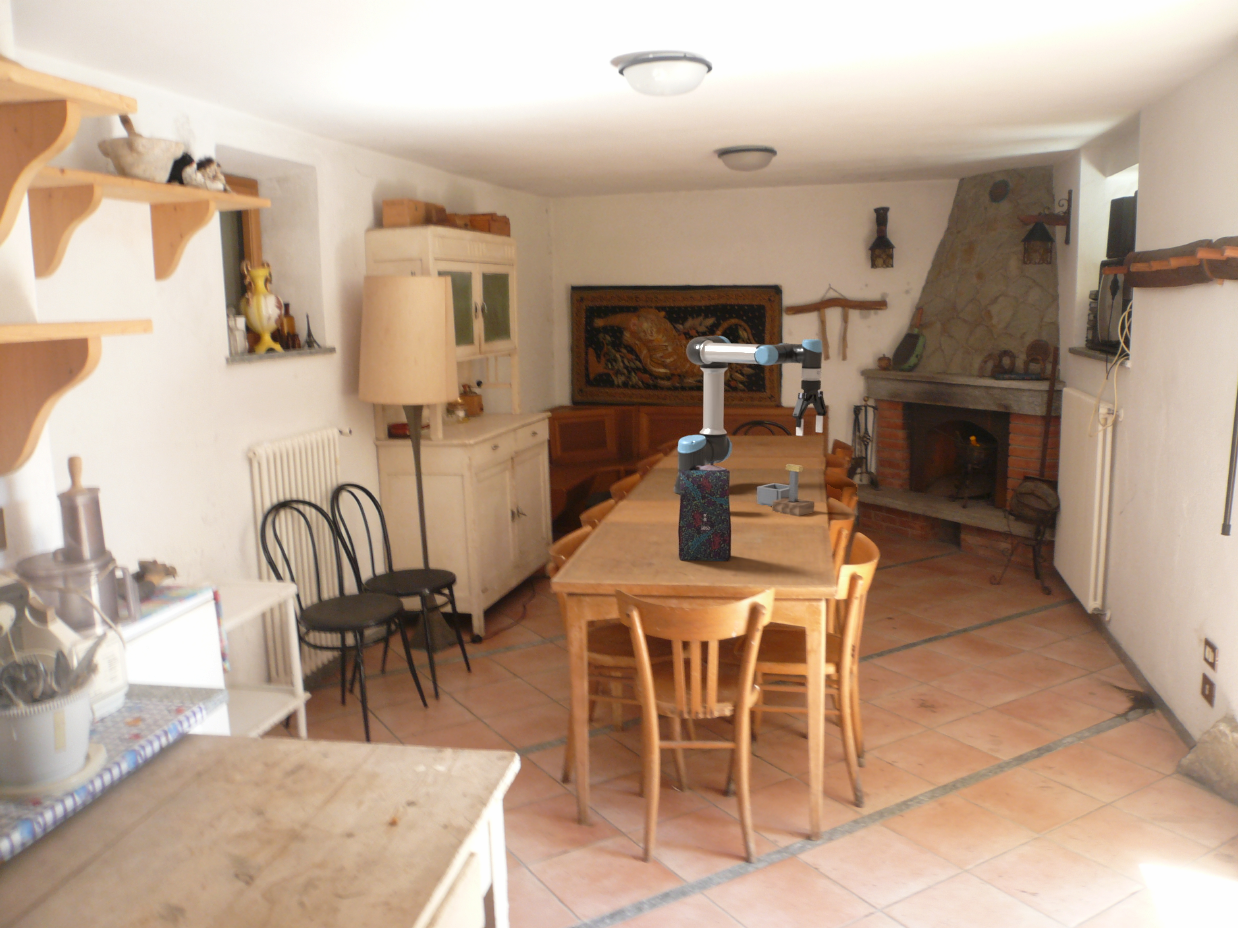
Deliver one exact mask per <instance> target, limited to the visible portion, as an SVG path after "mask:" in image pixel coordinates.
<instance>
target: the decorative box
mask: <svg viewBox="0 0 1238 928" xmlns="http://www.w3.org/2000/svg"><path fill="white" fill-rule="evenodd" d="M679 501H680V502H679V514H678V529H677V530H678V531H677V533H678V534H677V535H678V558H679V560H680V561H694V562H696V561H697V562H699V561H700V562H706V561H707V562H708V561H709V562H729V561H730V559H731V557H732V521H731V519H732V517H731V508H730V470H729V469H727V470H681V472H680V494H679Z"/></svg>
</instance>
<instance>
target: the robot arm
mask: <svg viewBox="0 0 1238 928" xmlns="http://www.w3.org/2000/svg"><path fill="white" fill-rule="evenodd" d="M685 350H686V351H685V352H686V353H685V354H686V356H687V359H688V360H689V361H690V362H691V363H692V364H694V365H698V366H699V368H700V370H701V371H702V372H703V406H702V407H703V412H702V413H703V417H702V418H703V420H702V421H703V422H702V423H703V425H702V429H701V430H700V431H699V434H692V435H686V436H683V437H681V438H680V439H679V440H678V444H677V445H678V446H677V476H676V480H675V483H674V486H673V492H674V493H675V494H677V495H678V494H679V495H680V472H681V470H689V469H690V468H691V467H692V466H693V465H696V466H706V465H710V461H714V464H720V463H722V462H725V461H726V460H727V459H728V458H730V456H731V454H732V451H733V443H732V441H731V440H730V436H728V432H727V431H726V429H725V428H724V410H725V409H724V404H725V403H724V402H725V401H724V400H725V399H724V398H725V396H724V395H725V392H724V391H725V389H724V388H725V372H726V371H727V370H728V369H729V367H728V365H729V364H730V363H733V364H734V363H735V364H751V365H752V364H753V365H754V364H755V365H762V366H772V365H781V364H782V365H783V364H801V377H800V378H801V379H802V380H801V382H800V389H801V390H803V392H798V394H797V400H796V403H795V407H794V409H793V413H792V418H793V419H794V420H795V424H796V425H795V436H798V437H804V418H803V417H804V415H805V413H806V411H807V409H808V407H809V406H810V405H812V406H813V408H814V410H815V412H816V415H815V433H823V431H824V429H823V428H824V426H823V425H824V417H826V415H827V413H828V410H827V406H826V401H825V398H824V391H823V390H821V389H822V381H821V380H820V379H821V378H822V363H823V361H822V359H823V342H822V340H821V339H815V338H811V339H810V338H804V339H803V340H802V343H788V342H786V343H785V342H784V343H783V342H782V343H778V344H756V343H755V344H754V343H753V344H752V343H751V344H748V343H731V341H730V340H729V339H728V338H726V337H725V336H722V335H719V336H718V335H710V336H708V335H707V336H698V337H694V338H692V339H691V340H690V341H689V342H688V344H687V346H686V349H685ZM693 470H694V469H693Z"/></svg>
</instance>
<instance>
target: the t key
mask: <svg viewBox="0 0 1238 928" xmlns="http://www.w3.org/2000/svg"><path fill="white" fill-rule="evenodd" d="M803 467H804V466H803V465H799V464H792V463H787V464H785V471H789V478H788V479H789V480H788V481H789V482H788V485H789V502H793V503H796V502H798V499H799V473H801V472H803V469H804V468H803Z"/></svg>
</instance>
